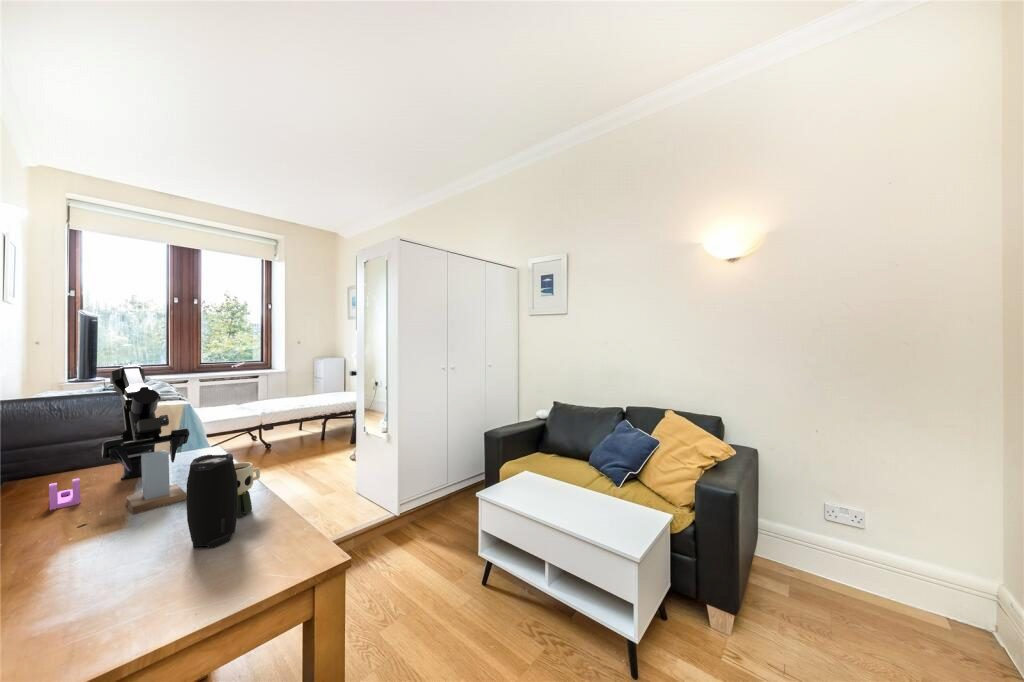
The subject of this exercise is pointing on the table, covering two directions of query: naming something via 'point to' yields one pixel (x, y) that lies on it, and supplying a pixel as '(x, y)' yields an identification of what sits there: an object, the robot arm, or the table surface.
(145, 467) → the block
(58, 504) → the bracket
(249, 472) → the character mug
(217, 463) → the portable speaker
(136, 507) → the plinth
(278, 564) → the table surface
